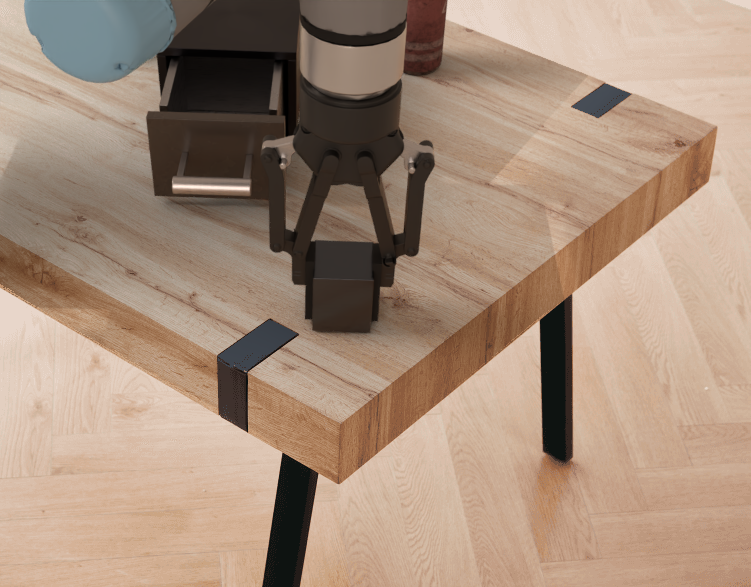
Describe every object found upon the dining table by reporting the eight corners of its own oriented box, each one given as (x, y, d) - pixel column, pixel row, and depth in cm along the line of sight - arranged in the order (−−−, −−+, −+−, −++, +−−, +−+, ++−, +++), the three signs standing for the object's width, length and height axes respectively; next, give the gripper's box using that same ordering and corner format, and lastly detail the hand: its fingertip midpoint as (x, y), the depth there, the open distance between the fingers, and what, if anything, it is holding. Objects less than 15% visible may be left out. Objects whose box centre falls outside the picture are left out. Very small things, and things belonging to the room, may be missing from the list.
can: (403, 44, 130) (411, -68, 121) (449, 60, 128) (461, -53, 119) (378, 65, 126) (384, -49, 117) (425, 81, 124) (435, -34, 115)
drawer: (282, 236, 100) (281, 157, 94) (145, 232, 100) (136, 152, 94) (292, 118, 115) (292, 44, 109) (174, 114, 115) (167, 39, 109)
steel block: (312, 331, 92) (313, 278, 88) (313, 292, 96) (314, 239, 92) (370, 332, 92) (374, 280, 88) (370, 294, 96) (373, 241, 92)
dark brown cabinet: (296, 144, 113) (296, 52, 106) (164, 139, 113) (155, 47, 106) (302, 67, 125) (302, -20, 118) (183, 63, 125) (176, -25, 117)
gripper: (469, 53, 81) (441, 284, 97) (232, 43, 81) (242, 278, 96) (477, 106, 76) (446, 342, 91) (222, 96, 75) (235, 336, 91)
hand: (341, 309), depth 94 cm, fingers closed on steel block, 5 cm apart
